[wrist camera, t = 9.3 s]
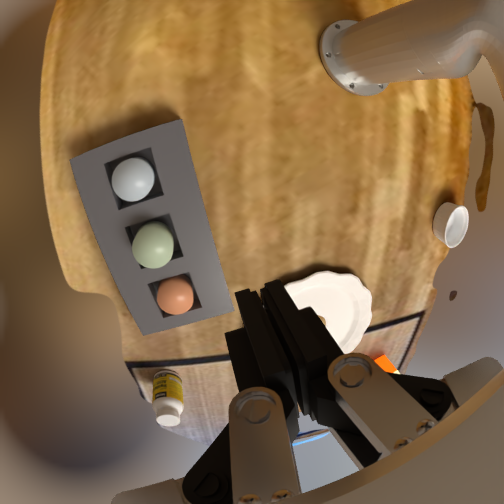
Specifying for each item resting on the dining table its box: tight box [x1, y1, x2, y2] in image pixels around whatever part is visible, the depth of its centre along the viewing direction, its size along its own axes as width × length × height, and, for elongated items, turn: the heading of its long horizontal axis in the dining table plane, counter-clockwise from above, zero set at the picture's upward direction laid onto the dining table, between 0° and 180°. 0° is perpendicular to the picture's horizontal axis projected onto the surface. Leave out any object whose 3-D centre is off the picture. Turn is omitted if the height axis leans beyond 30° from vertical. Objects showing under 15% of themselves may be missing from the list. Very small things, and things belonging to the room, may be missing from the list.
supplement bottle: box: [152, 370, 183, 426], centre depth 42 cm, size 5×5×10 cm
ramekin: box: [433, 202, 469, 248], centre depth 45 cm, size 9×9×4 cm
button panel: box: [70, 119, 234, 336], centre depth 33 cm, size 14×26×4 cm, turn 12°
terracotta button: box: [157, 274, 193, 315], centre depth 36 cm, size 5×5×3 cm
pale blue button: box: [112, 157, 156, 201], centre depth 29 cm, size 5×5×3 cm
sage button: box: [132, 221, 174, 268], centre depth 31 cm, size 5×5×3 cm
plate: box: [263, 270, 372, 354], centre depth 48 cm, size 25×25×2 cm
